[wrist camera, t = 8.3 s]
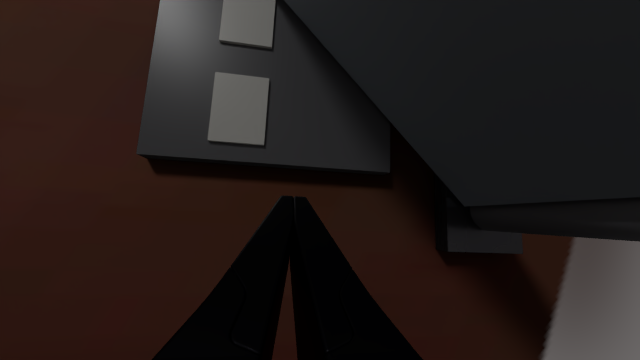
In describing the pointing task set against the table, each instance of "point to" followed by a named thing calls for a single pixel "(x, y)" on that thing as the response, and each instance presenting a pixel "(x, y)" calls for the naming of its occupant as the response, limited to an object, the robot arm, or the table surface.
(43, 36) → the table surface
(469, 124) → the gate panel
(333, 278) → the robot arm
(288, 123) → the label plate
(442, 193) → the hinge base
